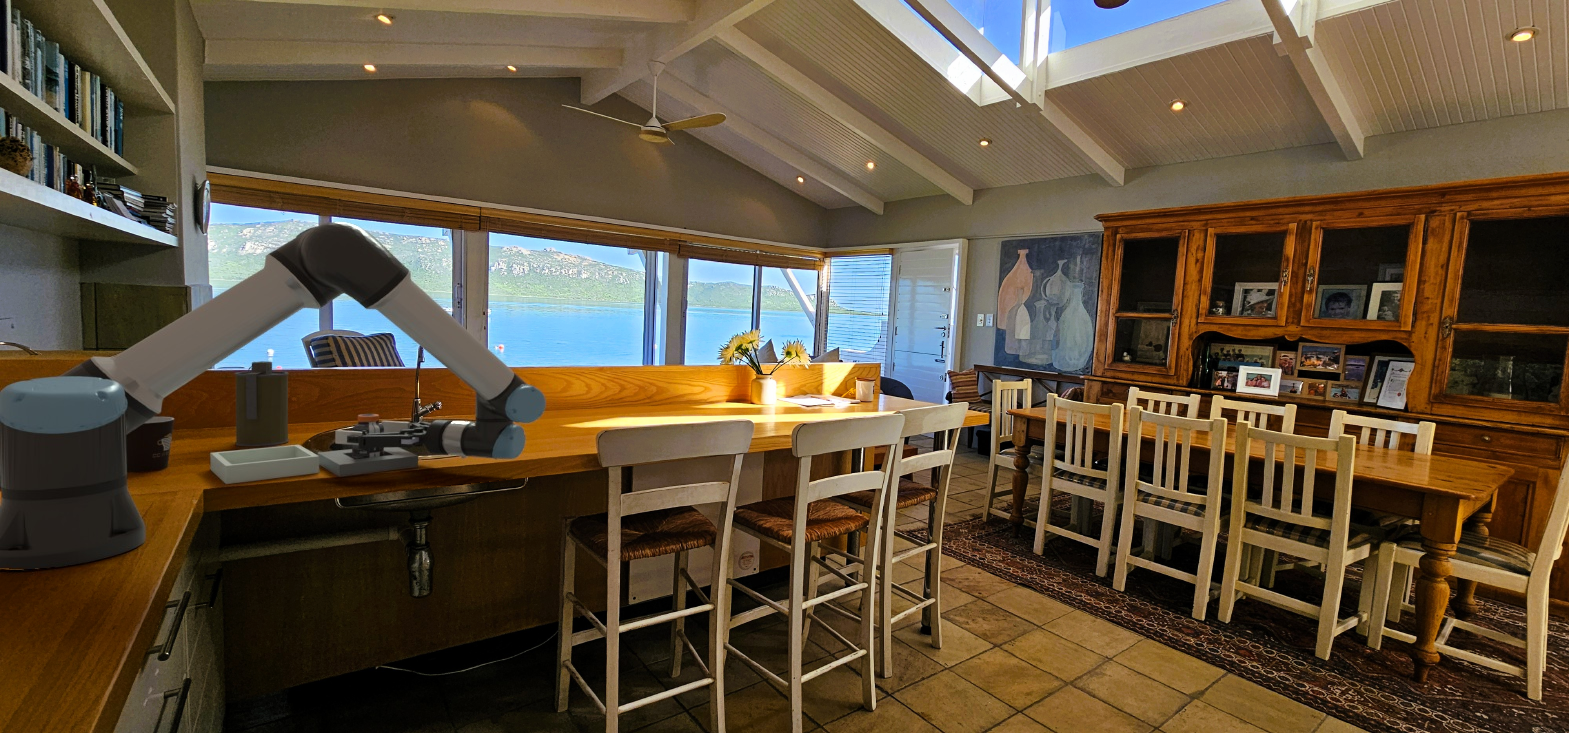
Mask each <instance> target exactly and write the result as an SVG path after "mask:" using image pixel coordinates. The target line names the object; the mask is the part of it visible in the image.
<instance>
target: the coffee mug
mask: <svg viewBox="0 0 1569 733" xmlns="http://www.w3.org/2000/svg"><path fill="white" fill-rule="evenodd" d="M174 423H175V418H174V417H170V416H154V417H152V418H151V419H149V420H148V421H146V422H145V423H143V424H142V425H140V426H139V427H137V428H136V429H134V430H133V431H131V432H130V433H128V434H127V435H126V449H127V473H137V474H138V473H148V472H156V471H163V470H165V469H167V468H168V467H169V458H170V453H171V452H170V451H171V445H172V439H173V438H172V437H173V432H174Z"/></svg>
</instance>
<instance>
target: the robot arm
mask: <svg viewBox="0 0 1569 733" xmlns="http://www.w3.org/2000/svg"><path fill="white" fill-rule="evenodd" d="M411 276H412V274H411V271H410V269H408V267H406V266H405V265H404V264H403V263H402V262H401V261H400V260H399V259H398V258H397V257H395V256H394V254H393V253H391V251H390V250H388V249H387V247H386V246H384V244H383V243H381V242H380V241H379V240H378V239H377V238H376V237H375V236H374V235H373V234H371V232H369V231H367V230H366V229H364V228H362V227H360V226H358V225H356V224H352V223H349V222H345V221H333V222H332V221H331V222H326V223H323V224H321V225H317V226H314V227H312V226H311V227H310V228H307V229H305V230H303V231H301V232H300V233H299V234H297V235H296V236H295V238H293V239H291V240H290V241H288V242H287V243H285V244H283V245H281V246H280V247H279V246H278V247H277V248H276V249H274V250H273V251H271V252H270V253H268V254H266V255H265V260H264V267H263V268H262V269H260V270H259V271H257V272H255V273H253V274H251V275H249V277H246V278H245V279H243V280H241V281H240V282H238V283H236V284H235V285H233V286H231V287H230V288H228V289H226V290H225V291H223V292H221V293H220V294H218V295H216V296H214V297H212V299H210V300H208V301H206V302H205V303H203V304H201V305H199V306H198V307H195V309H192V310H191V311H190V312H188V313H186V314H184V315H183V316H181V317H179V318H178V319H176V320H174V321H173V322H171V323H169V324H167V325H166V326H164V327H162V328H161V329H159V330H157V331H156V332H154V333H152V334H151V335H148V336H147V337H146V338H144V339H142V340H141V341H139V342H137V343H136V344H133V345H132V346H130V347H128V348H127V349H126V350H123V351H122V352H120V353H119V354H117V355H114V356H111V357H109V356H107V357H106V356H91V357H90V358H88V359H86V360H85V361H83V362H81V363H80V364H77V365H76V366H74V367H73V368H70V369H69V370H68V371H66V372H64V373H62V374H61V375H59V376H50V377H49V376H48V377H39V378H32V379H29V380H21V381H17V382H13V383H11V384H8V385H6V386H5V387H4V388H2V390H0V494H1V495H0V496H1V497H0V568H9V569H35V568H47V569H50V568H49V567H55V568H61V567H68V565H69V566H74V565H79V564H85V563H89V562H95V561H98V560H103V559H107V558H110V557H114V556H117V555H120V554H124V553H126V552H129V551H131V550H134V549H135V548H137V547H139V546H141V545H143V544H144V543H145V542H146V524H145V522H144V520H143V518H142V516H141V514H140V512H139V509H138V508H137V506H136V504H135V502H134V500H133V498H132V495H131V494H130V492H129V490H128V489H129V488H128V472H127V449H126V435H127V434H128V433H130V432H131V431H133V430H134V429H136V428H137V427H139V426H140V425H142V424H143V423H145V422H146V421H148V420H149V419H151V418H152V417H157V415H159V414H161V413H162V406H163V400H164V399H165V398H166V397H167V396H169V395H170V394H172V393H173V392H175V391H176V390H178V389H180V388H181V387H183V386H185V385H186V384H188V383H189V382H191V381H192V380H194V379H195V378H197V377H198V376H199V375H201V374H203V373H205V372H207V371H208V370H209V369H211V368H212V367H214V366H216V365H217V364H218V363H221V362H222V361H223V360H225V359H226V358H228V357H230V356H231V355H232V354H235V353H236V352H237V351H239V350H240V349H242V348H243V347H245V346H246V345H248V344H250V343H251V342H253V341H254V340H257V339H258V338H259V337H261V336H262V335H264V334H266V333H267V332H268V331H269V330H271V329H273V328H274V327H276V326H278V325H279V324H281V323H282V322H284V321H285V320H287V319H288V318H290V317H292V316H293V315H295V314H296V313H298V312H300V311H301V310H303V309H312V310H313V309H314V310H319V309H321V308H322V307H324V306H326V305H327V304H329V303H331V302H332V301H334V300H335V299H337V298H338V297H339V296H341V295H343V294H345V295H347V296H348V297H350V298H352V299H353V300H355V301H356V302H357V303H358V304H359V305H360V306H362V307H364V309H366V310H375V311H378V312H379V313H380V314H381V315H382V316H384V317H385V318H386V319H387V320H389V321H390V322H391V323H393V325H395V326H396V327H397V328H398V329H400V330H401V331H402V332H403V333H404V334H406V335H407V336H408V337H409V338H410V339H412V340H413V341H414V342H415V343H416V344H417V345H418V346H420V347H421V348H422V349H424V350H425V351H426V352H427V353H429V354H430V355H431V356H432V357H433V358H435V360H437V361H438V362H439V363H440V364H442V365H443V366H444V367H445V368H447V370H449V371H450V372H451V373H453V374H454V375H455V376H456V377H458V378H459V379H460V380H461V381H462V382H463V383H465V384H466V385H467V386H468V387H470V388H471V389H472V390H473V391H474V392H475V418H474V419H475V421H468V420H465V421H464V420H452V419H451V420H450V419H449V420H448V419H435V420H433V421H432V422H427V421H423V420H421V421H419V422H416V421H414V422H410V421H409V422H405V421H396V420H395V421H392V420H381V422H380V424H382V425H383V426H384V433H369V434H367V432H366V431H365V430H362V432H357V431H352V430H342V429H338V430H335V444H337V445H339V444H340V445H350V446H352V445H359V448H388V447H399V448H407V449H411V448H413V447H417V448H418V447H423V446H425V447H426V448H425V449H426V450H427V451H428V453H430V454H432V455H440V456H449V455H450V456H460V457H461V459H464V460H465V459H467V457H473V458H485V459H494V460H514V459H515V460H516V459H517V458H518V457H519V456H520V455H521V454H522V452H524V449H525V446H526V434H525V430H524V428H523V426H522V425H519V424H518V423H520V424H531V423H533V422H536V421H537V420H538V419H540V418H541V417H542V416H543V414H544V412H545V409H546V406H547V401H546V397H545V395H544V393H543V392H542V391H541V390H540V389H539V388H537V387H536V386H534V385H531V384H528V383H527V382H525V380H523V379H522V378H521V377H520V376H519V375H518V374H516V373H515V372H514V371H513V369H511V368H510V367H509V366H508V365H506V363H505V362H503V361H502V360H501V359H500V358H498V357H497V355H495V353H493V352H492V351H491V350H490V349H489V348H488V347H487V346H485V345H484V344H483V343H482V342H481V341H480V340H479V339H477V337H475V336H474V335H473V334H472V333H471V332H470V331H469V330H468V329H466V328H465V326H463V324H461V323H460V322H459V321H458V320H456V319H455V317H453V316H452V315H451V314H450V313H449V312H448V311H446V310H445V309H444V308H443V307H442V306H441V304H440V305H439V304H438V303H437V302H436V301H435V300H434V299H433V298H432V297H431V296H430V295H428V293H427V292H425V291H424V290H423V289H422V288H421V287H420V286H419V285H418V284H416V283H415V282H414V281H413V280H412V277H411ZM516 423H517V424H516Z"/></svg>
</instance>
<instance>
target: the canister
mask: <svg viewBox="0 0 1569 733" xmlns="http://www.w3.org/2000/svg"><path fill="white" fill-rule="evenodd" d="M250 369H251V370H250ZM234 376H235V423H236V424H235V428H236V430H235V433H236V436H235V440H236V441H235V443H234V445H235V446H237V447H244V448H251V447H252V448H254V447H255V448H257V447H258V448H260V447H261V448H263V447H275V446H279V445H283V444H287V443H289V442H290V439H289V416H288V415H289V413H288V411H289V407H288V406H289V394H288V393H289V383H288V382H289V381H288V380H289V379H288V378H289V372H288V371H281V370H273V361H263V360H262V361H253V362H251V366H250V367H249V368H248V370H247V371H239V372H235V373H234ZM262 446H263V447H262Z"/></svg>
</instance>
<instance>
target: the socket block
mask: <svg viewBox="0 0 1569 733" xmlns="http://www.w3.org/2000/svg"><path fill="white" fill-rule="evenodd" d="M317 455H318V456H319V467H320V466H321V467H322V468H324V469H326V470H327V471H329V472H331V473H333V474H334V475H336V476H338V477H339V478H342V477H349V476H357V475H365V474H371V473H372V474H373V473H380V472H387V471H395V470H403V469H411V468H412V469H413V468H418V467H419V455H418V454H416V453H414V452H410V451H408V450H406V449H403V448H402V447H388V448H384V456H380V457H371V458H362V459H353V458H352V448H350V449H341V450H330V451H320V452H317Z"/></svg>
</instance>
